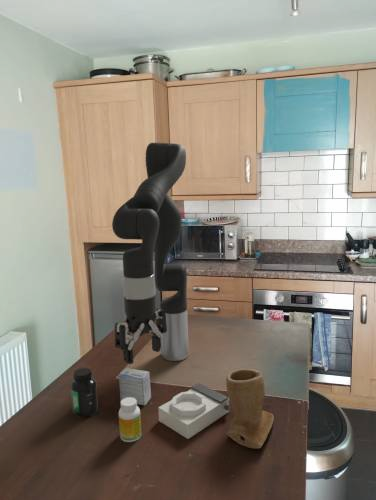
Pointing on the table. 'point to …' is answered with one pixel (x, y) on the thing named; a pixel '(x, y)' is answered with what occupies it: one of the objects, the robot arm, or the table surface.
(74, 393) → the supplement bottle
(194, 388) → the white recessed base
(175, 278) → the robot arm
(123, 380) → the medicine box
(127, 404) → the supplement bottle
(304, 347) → the table surface
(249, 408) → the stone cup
